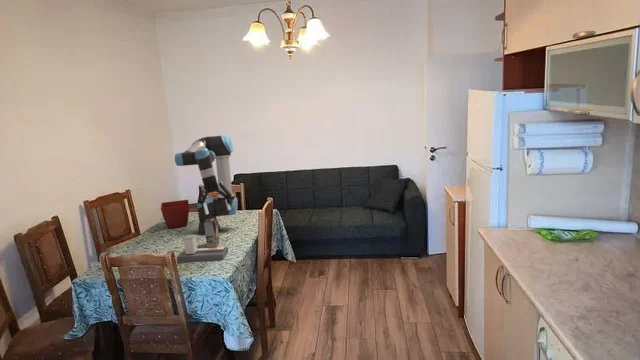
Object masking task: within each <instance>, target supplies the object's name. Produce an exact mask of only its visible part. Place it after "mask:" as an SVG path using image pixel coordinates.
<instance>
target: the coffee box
mask: <svg viewBox="0 0 640 360" xmlns="http://www.w3.org/2000/svg"><path fill="white" fill-rule="evenodd" d="M217 221H218V217H217V218H210V219H206V221H205V222H204V226H205V234H206V235H205V242H206V243H205V244H206V248H218V246H219V244H220V236H219V232H218V225H217Z"/></svg>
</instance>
